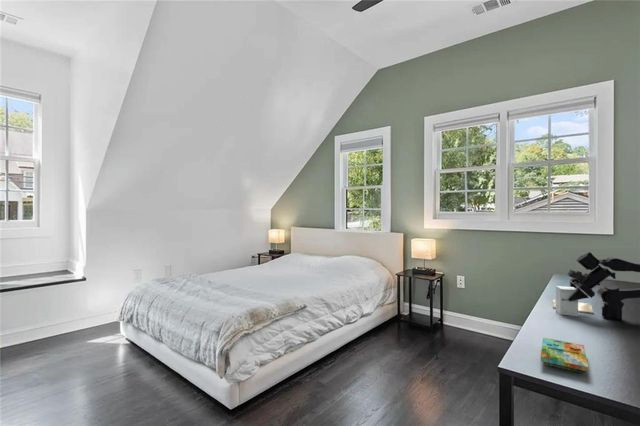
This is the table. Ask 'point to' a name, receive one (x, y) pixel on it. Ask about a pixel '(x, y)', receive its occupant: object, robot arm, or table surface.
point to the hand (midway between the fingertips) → (566, 298)
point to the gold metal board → (580, 307)
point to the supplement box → (566, 301)
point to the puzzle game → (564, 355)
